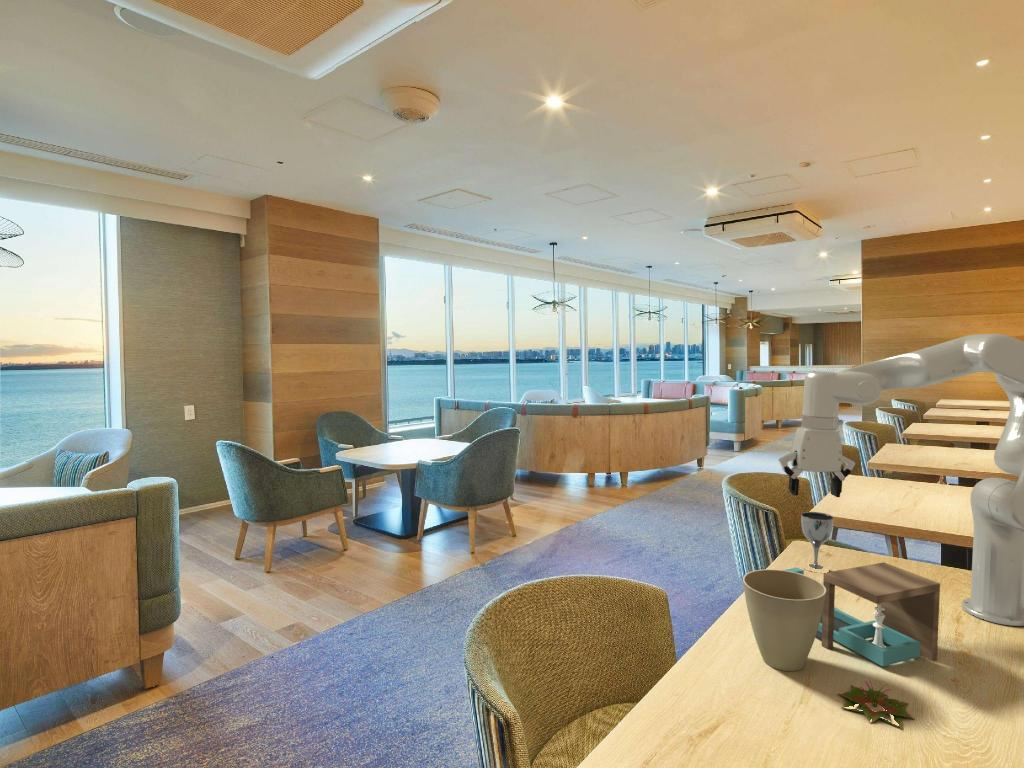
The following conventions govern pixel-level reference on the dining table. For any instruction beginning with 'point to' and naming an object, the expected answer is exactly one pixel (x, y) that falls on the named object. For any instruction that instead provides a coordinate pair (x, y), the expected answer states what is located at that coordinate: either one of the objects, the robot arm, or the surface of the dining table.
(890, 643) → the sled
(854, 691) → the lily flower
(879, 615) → the chess piece
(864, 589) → the tunnel
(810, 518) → the wine glass
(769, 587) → the plant pot
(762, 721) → the dining table surface
